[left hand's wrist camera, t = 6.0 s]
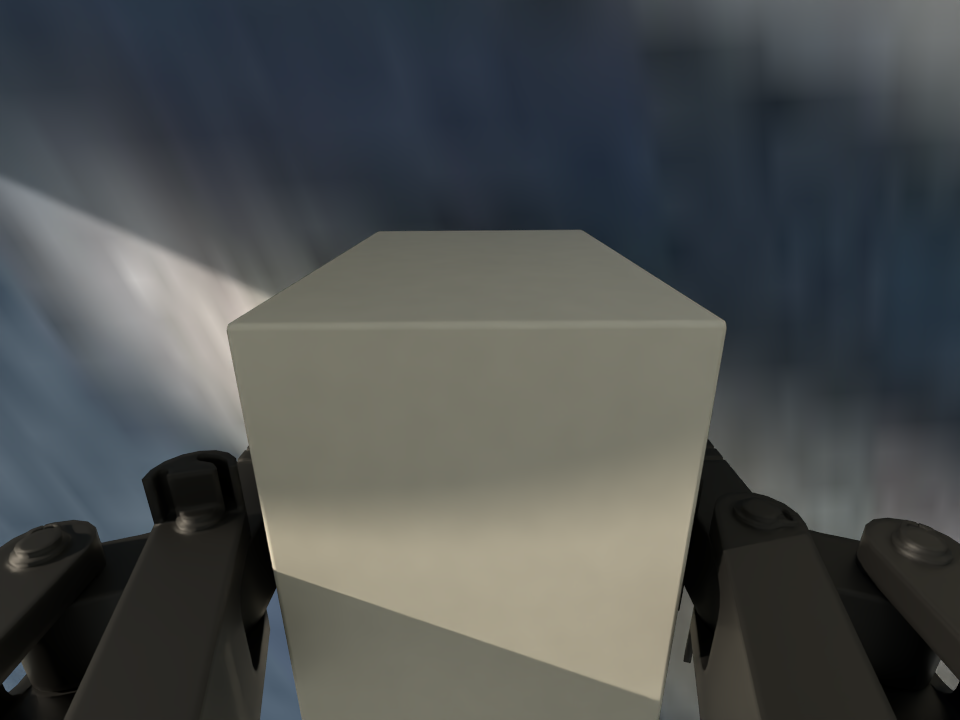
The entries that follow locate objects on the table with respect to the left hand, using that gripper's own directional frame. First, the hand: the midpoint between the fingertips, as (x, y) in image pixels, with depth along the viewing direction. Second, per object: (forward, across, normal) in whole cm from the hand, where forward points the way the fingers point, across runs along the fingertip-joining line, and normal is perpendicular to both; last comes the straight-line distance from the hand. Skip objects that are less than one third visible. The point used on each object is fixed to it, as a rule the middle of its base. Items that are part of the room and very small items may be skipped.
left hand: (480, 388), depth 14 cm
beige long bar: (0, 0, -22) cm, 22 cm away
